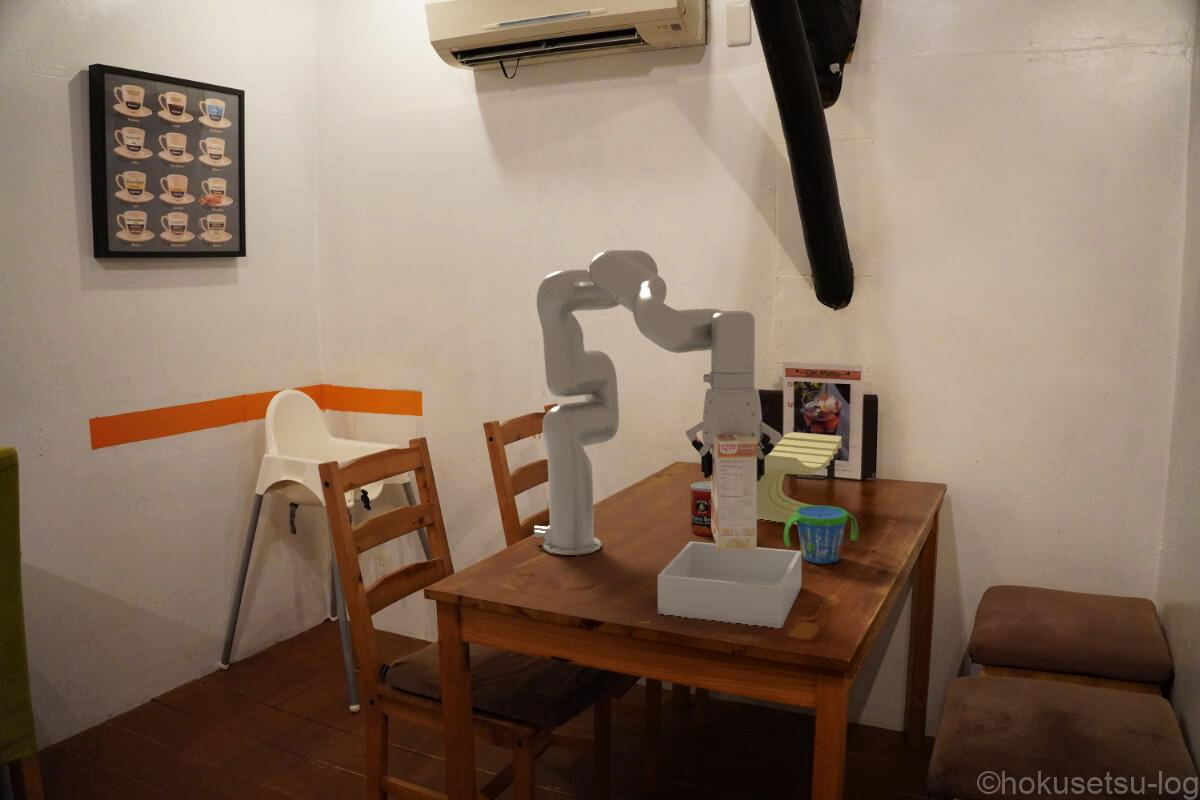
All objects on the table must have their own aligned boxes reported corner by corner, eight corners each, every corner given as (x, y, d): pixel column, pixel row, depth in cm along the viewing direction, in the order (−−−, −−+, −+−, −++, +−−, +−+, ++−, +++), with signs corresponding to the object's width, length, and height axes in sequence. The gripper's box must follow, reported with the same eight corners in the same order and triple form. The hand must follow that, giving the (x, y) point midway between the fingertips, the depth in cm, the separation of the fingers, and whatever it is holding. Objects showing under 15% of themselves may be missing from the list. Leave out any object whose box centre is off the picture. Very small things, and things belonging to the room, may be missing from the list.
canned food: (685, 534, 213) (685, 486, 212) (698, 525, 220) (698, 479, 219) (717, 538, 210) (717, 490, 208) (729, 529, 217) (730, 482, 215)
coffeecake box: (709, 527, 177) (709, 425, 174) (748, 527, 176) (748, 424, 174) (716, 551, 162) (716, 439, 159) (757, 551, 162) (758, 439, 159)
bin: (657, 614, 165) (657, 575, 164) (690, 575, 185) (689, 541, 184) (781, 628, 157) (781, 588, 156) (801, 587, 177) (801, 551, 176)
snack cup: (791, 569, 188) (791, 519, 186) (776, 553, 198) (776, 506, 197) (866, 565, 189) (868, 516, 188) (848, 550, 200) (849, 503, 198)
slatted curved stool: (780, 498, 244) (781, 431, 242) (840, 506, 236) (841, 436, 233) (730, 526, 219) (731, 451, 217) (795, 535, 211) (796, 457, 208)
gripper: (679, 382, 165) (680, 479, 167) (778, 385, 159) (778, 485, 161) (690, 378, 172) (691, 471, 174) (786, 380, 166) (785, 476, 168)
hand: (732, 477), depth 168 cm, fingers closed on coffeecake box, 8 cm apart
